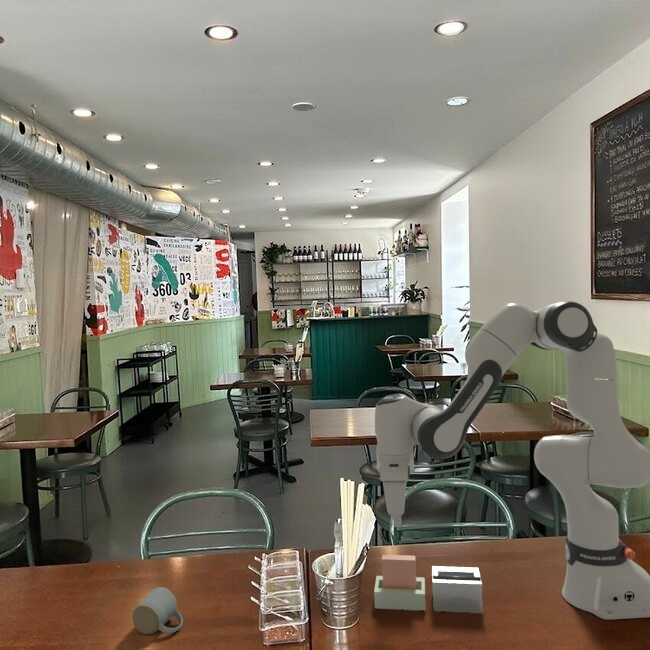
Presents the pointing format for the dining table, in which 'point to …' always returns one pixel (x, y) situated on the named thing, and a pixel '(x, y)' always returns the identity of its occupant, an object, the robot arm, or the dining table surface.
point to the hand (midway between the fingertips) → (398, 517)
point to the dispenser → (457, 589)
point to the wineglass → (338, 527)
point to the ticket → (399, 572)
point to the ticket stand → (400, 596)
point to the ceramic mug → (156, 612)
